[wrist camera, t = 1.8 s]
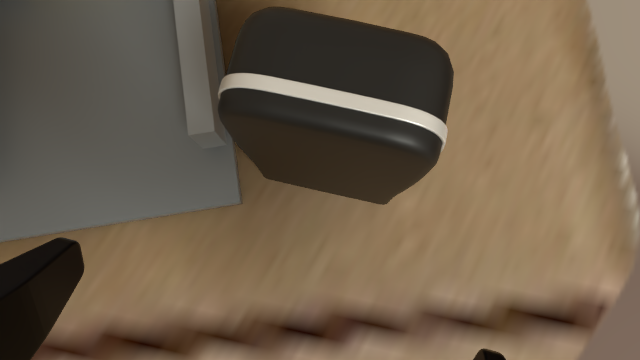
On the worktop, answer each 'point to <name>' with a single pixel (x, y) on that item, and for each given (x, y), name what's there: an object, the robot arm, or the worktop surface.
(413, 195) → the worktop surface
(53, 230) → the tray
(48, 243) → the robot arm
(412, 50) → the battery charger
